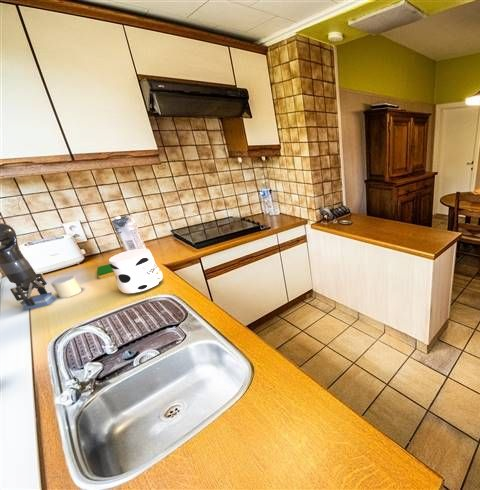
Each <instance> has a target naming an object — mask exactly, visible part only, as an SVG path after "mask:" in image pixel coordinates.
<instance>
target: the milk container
mask: <svg viewBox="0 0 480 490" xmlns="http://www.w3.org/2000/svg"><path fill="white" fill-rule="evenodd" d="M108 264H110V266H111V268H112V270H113V272H114V276H115V281H116V285H117V288H118V289H119V291H120V292H122V293H123V294H127V295H134V294H139V293H144V292H147V291H149V290H152V289H155V288H156V287H158V286H159V285H160V284H161V283H162V282H163V280H164V276H163V272H162V270H161V269H160V267H159V266H158V265H157V264H156V261H155V259H154V256H153V254H152V252H151V250H150V249H149V248H147V247H146V248H140V249H133V250H128V251H125V250H124V251H122V252H119V253H117V254H115V255H112V256H111V257H110V258H109V259H108Z"/></svg>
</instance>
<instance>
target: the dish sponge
mask: <svg viewBox="0 0 480 490" xmlns="http://www.w3.org/2000/svg"><path fill="white" fill-rule="evenodd" d="M96 268H97V269H96V271H97V277H98V278H99V279H100V280H101V279H103V278H107V277H110V276H113V275H114V276H115V274H114V272H113V270H112V268H111V266H110V263H108V264H105V265H101V266H97V267H96Z"/></svg>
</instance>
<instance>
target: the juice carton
mask: <svg viewBox="0 0 480 490" xmlns="http://www.w3.org/2000/svg"><path fill="white" fill-rule="evenodd" d="M111 225H112V226H113V229H114V231H115V233H116V235H117V238H118V239H119V242H120V244H121V246H122V247H123V250H124V252H125V251H128V250H133V249H140V248H146V249H147V246H146V244H145V241H144V239H143V237H142V234H141V232H140V229H139V227H138V225H137V222H136V220H135V219H134V217H133V215H123V216H121V215H116V216H114V217H113V220H111Z"/></svg>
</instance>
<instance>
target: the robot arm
mask: <svg viewBox="0 0 480 490" xmlns="http://www.w3.org/2000/svg"><path fill="white" fill-rule="evenodd" d="M0 269H1V271H2V272H3V274H4V275H5V277H6V278H7V279H8V281H9V282H10V283H12V284H15V287H12V288H10V289H9V290H10V292H11V294H12V296H13V297H14V299H15V300H16V301H18V302H20V301H24V302H25V303H26V305H27V306H34V305H35V302H34V301H33V299H32V298H30V297H31V294H32V292H33V290H34V289H36V291H37V293H39V294H38V295H41V294H47V293H48V291H47V289H46V286H47V284H48V283H47V281H46V280H45V279H44V277H43V276H42V274H41V273H37V272H36V271H35V269H34V268H33V266H32V265H31V263H30V262H29V261H28V259H27V258H26V257H25V256H24V254H23V253H22V251H21V250H20V248H19V242H18V237H17V233H16V231H15V229H14V228H13V226H10V225H9V224H7V223H3V222H2V223H0Z"/></svg>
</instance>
